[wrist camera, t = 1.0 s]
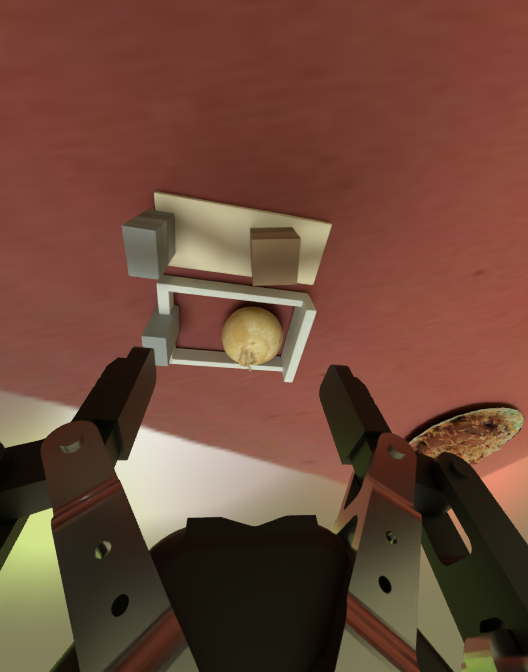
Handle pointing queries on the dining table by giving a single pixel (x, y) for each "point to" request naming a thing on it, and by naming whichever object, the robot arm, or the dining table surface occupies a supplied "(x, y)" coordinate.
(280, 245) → the walnut cube
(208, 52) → the dining table surface
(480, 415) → the rice dish
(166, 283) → the grey rectangular frame
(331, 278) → the dining table surface
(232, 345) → the onion
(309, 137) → the dining table surface
